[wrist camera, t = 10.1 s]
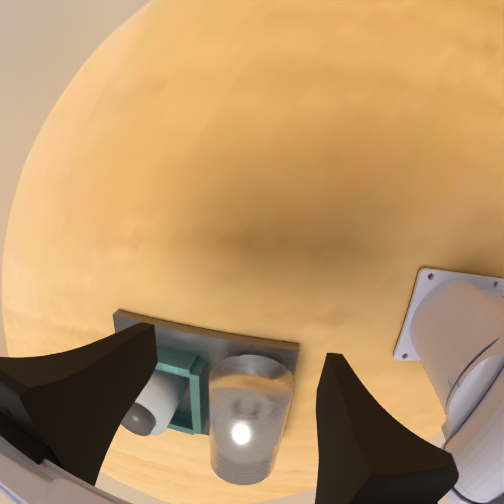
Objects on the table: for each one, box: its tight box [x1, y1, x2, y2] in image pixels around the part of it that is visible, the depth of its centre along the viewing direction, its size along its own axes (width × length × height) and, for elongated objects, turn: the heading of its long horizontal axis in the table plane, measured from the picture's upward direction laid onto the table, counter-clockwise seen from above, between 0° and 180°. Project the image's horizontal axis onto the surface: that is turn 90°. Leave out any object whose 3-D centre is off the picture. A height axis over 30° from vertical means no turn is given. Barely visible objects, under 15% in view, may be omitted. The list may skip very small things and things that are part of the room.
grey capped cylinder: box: [121, 369, 186, 436], centre depth 22 cm, size 5×5×6 cm
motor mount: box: [113, 310, 299, 485], centre depth 22 cm, size 16×13×7 cm
